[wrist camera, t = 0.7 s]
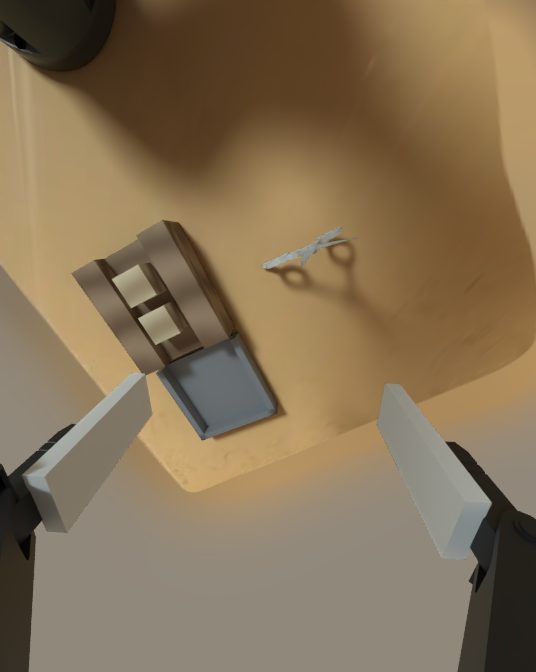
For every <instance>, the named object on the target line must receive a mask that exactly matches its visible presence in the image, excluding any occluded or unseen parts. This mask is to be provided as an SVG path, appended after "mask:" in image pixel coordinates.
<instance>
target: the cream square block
mask: <svg viewBox="0 0 536 672" xmlns="http://www.w3.org/2000/svg"><path fill="white" fill-rule="evenodd" d="M112 280H113V282H114V283H115V285H116V286H117V288H118V289H119V291H120V292H121V294H122V295H123V297H124V298H125V300H126V301H127V303H128V304H129V306H130V307H131V308H132V307H135V306H137V305H139V304H141V303H143V302H145V301H147V300H149V299H151V298H153V297H155V296H157V295H159V294H161V293H163V292H165V291H167V289H166V288H165V286H164V285H163V283H162V281H161V280H160V278H159V276H158V275H157V273H156V271H155V270H154V268H153V266H152V265H151V263H144V264H138V265H136V266H135V267H133V268H131V269H129V270H127V271H126V272H124V273H122V274H120V275H118V276H117V277H115V278H113V279H112Z"/></svg>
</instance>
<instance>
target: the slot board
mask: <svg viewBox="0 0 536 672" xmlns="http://www.w3.org/2000/svg"><path fill="white" fill-rule="evenodd" d="M136 236H137V238H138V240H136V241H134V242H133V243H131V244H129V245H128V246H126V247H124V248H122V249H121V250H119V251H117V252H116V253H114V254H112V255H110V256H109V257H107V258H105V259H100V260H93V261H92V262H90V263H88V264H87V265H85V266H83V267H82V268H80V269H78V270H76V271H75V272H73V273H71V274H72V275H73V277H74V278H75V279H76V281H77V282H78V284H79V285H80V286H81V288H82V289H83V291H84V292H85V293H86V295H87V296H88V298H89V299H90V301H91V302H92V303H93V305H94V306H95V308H96V309H97V310H98V312H99V313H100V315H101V316H102V317H103V319H104V320H105V322H106V323H107V325H108V326H109V327H110V329H111V330H112V332H113V333H114V334H115V336H116V337H117V339H118V340H119V342H120V343H121V344H122V346H123V347H124V349H125V350H126V351H127V353H128V354H129V356H130V357H131V358H132V360H133V361H134V363H135V364H136V366H137V367H138V368H139V370H140V371H141V373H143V374H145V375H148V374H150V373H152V372H154V371H157V370H159V369H161V368H163V367H165V366H166V365H167V364H168V363H169V362H170V361H171V360H173V359H175V358H177V357H180V356H182V355H184V354H186V353H189V352H191V351H193V350H195V349H197V348H200V347H202V346H203V347H204V349H206V348H208V347H210V346H212V345H215V344H217V343H219V342H221V341H223V340H226V339H228V338H229V337H230V335H231V333H232V331H233V329H234V328H235V325H234V323H233V321H232V320H231V318H230V316H229V314H228V312H227V310H226V309H225V307H224V305H223V303H222V301H221V299H220V298H219V296H218V294H217V292H216V290H215V289H214V287H213V285H212V283H211V281H210V279H209V278H208V276H207V274H206V272H205V270H204V268H203V267H202V265H201V263H200V261H199V259H198V257H197V256H196V254H195V252H194V250H193V248H192V246H191V245H190V243H189V241H188V239H187V237H186V235H185V234H184V232H183V230H182V228H181V226H180V224H179V223H178V222H171V221H164V220H162V221H160V222H158V223H156V224H155V225H153V226H151V227H150V228H148V229H146V230H145V231H143V232H141V233H139V234H138V235H136ZM144 263H151V265H152V266H153V268H154V270H155V271H156V273H157V275H158V276H159V278H160V280H161V281H162V283H163V285H164V286H165V288H166V289H167V291H165V292H163V293H161V294H159V295H157V296H155V297H153V298H151V299H149V300H147V301H145V302H143V303H141V304H139V305H137V306H135V307H132V308H131V307H130V306H129V304H128V303H127V301H126V300H125V298H124V297H123V295H122V294H121V292H120V291H119V289H118V288H117V286H116V285H115V283H114V282H113V280H112V279H113V278H115V277H117V276H118V275H120V274H122V273H124V272H126V271H127V270H129V269H131V268H133V267H135V266H136V265H138V264H144ZM171 301H174V303H175V304H176V306H177V308H178V309H179V311H180V313H181V314H182V316H183V318H184V319H185V321H186V323H187V324H188V327H187V328H185V329H184V330H183V331H182V332H181V333H179V334H177V335H175V336H173V337H171V338H169V339H167V340H165V341H163V342H160V343H158V344H156V345H155V343H154V342H153V340H152V339H151V337H150V336H149V334H148V333H147V331H146V330H145V328H144V327H143V325H142V324H141V322H140V321H139V319H138V318H140V317H142V316H143V315H145V314H147V313H149V312H151V311H153V310H155V309H157V308H159V307H161V306H163V305H165V304H167V303H169V302H171Z"/></svg>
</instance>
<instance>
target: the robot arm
mask: <svg viewBox="0 0 536 672" xmlns="http://www.w3.org/2000/svg"><path fill="white" fill-rule="evenodd" d="M114 9H115V0H0V40H1V41H2V42H3V43H5V44H6V45H7V46H8V47H10V48H11V49H13V50H14V51H16V52H17V53H18V54H20V55H21V56H23V57H24V58H26V59H27V60H29V61H30V62H32V63H34V64H36V65H38V66H40V67H43V68H46V69H49V70H55V71H68V70H73V69H76V68H79V67H81V66H83V65H85V64H86V63H88V62H89V61H90V60H91V59H93V58H94V57H95V55H96V54H97V53H98V52H99V51H100V49H101V48H102V46H103V44H104V43H105V41H106V39H107V36H108V34H109V31H110V28H111V25H112V20H113V16H114ZM151 416H152V409H151V404H150V398H149V392H148V387H147V381H146V376H145V374H143V373H131V374H130V375H129V376H128V377H127V378H126V379H125V380H124V381H123V382H122V383H120V384H119V385H118V386H117V387H116V388H115V389H114V390H113V391H112V392H111V393H110V394H109V395H108V396H106V397H105V398H104V399H103V400H102V401H101V402H100V403H99V404H98V405H97V406H96V407H95V408H94V409H93V410H91V411H90V412H89V413H88V414H87V415H86V416H85V417H84V418H83V419H82V420H81V421H80V422H79V423H77V424H71V425H69V426H68V427H66V428H64V429H62V430H61V431H59V432H58V433H57V434H55V435H54V436H53V437H52V438H51V439H50V440H49V441H48V443H45V444H44V445H43V446H42V447H41V448H40V449H39V451H36V452H35V453H34V454H33V455H32V456H30V457H29V458H28V459H27V460H26V461H25V462H24V463H23V464H21V465H20V466H19V467H18V468H17V469H16V470H15V471H14V472H13V473H12V474H10V475H9V476H7V474H6V472H5V470H4V468H3V466H2V464H0V672H28V671H29V654H30V653H29V652H30V635H31V617H32V598H33V580H34V561H35V543H36V536H35V533H34V529H35V528H36V527H37V526H38V524H39V523H40V522H41V521H42V522H43V524H44V526H45V528H46V531H49V532H63V533H67V532H68V531H69V530H70V528H71V527H72V526H73V524H74V523H75V521H76V520H77V519H78V517H79V516H80V514H81V513H82V512H83V510H84V509H85V507H86V506H87V505H88V503H89V502H90V500H91V499H92V498H93V496H94V495H95V493H96V492H97V490H98V489H99V488H100V487H101V485H102V484H103V482H104V481H105V479H106V478H107V477H108V475H109V474H110V473H111V471H112V470H113V468H114V467H115V466H116V464H117V463H118V461H119V460H120V459H121V457H122V456H123V454H124V453H125V452H126V450H127V449H128V448H129V446H130V445H131V443H132V442H133V440H134V439H135V438H136V436H137V435H138V434H139V432H140V431H141V429H142V428H143V427H144V425H145V424H146V422H147V421H148V420H149V418H150V417H151ZM377 426H378V428H379V430H380V432H381V434H382V436H383V439H384V441H385V443H386V445H387V447H388V449H389V451H390V453H391V455H392V457H393V459H394V461H395V463H396V465H397V467H398V469H399V471H400V473H401V476H402V478H403V480H404V482H405V484H406V486H407V488H408V490H409V492H410V494H411V496H412V498H413V500H414V502H415V504H416V506H417V508H418V510H419V513H420V515H421V516H422V519H423V521H424V523H425V525H426V527H427V529H428V531H429V533H430V535H431V537H432V539H433V541H434V543H435V545H436V547H437V549H438V552H439V554H440V555H441V558H444V559H460V560H465V559H466V557H467V555H468V553H469V551H470V549H471V550H472V551H473V553H474V555H475V556H476V558H477V560H478V564H477V566H476V568H475V570H474V572H473V574H472V576H471V578H470V580H469V582H470V583H472V584H473V586H472V592H471V598H470V603H469V609H468V615H467V621H466V626H465V632H464V638H463V644H462V650H461V656H460V661H459V667H458V672H536V519H535V518H533V517H531V516H530V515H527V514H525V513H522V512H520V511H517V510H516V509H515V507H514V506H513V505H512V504H511V503H510V501H509V500H508V499H507V498H506V497H505V495H504V494H503V493H502V492H501V491H500V490H499V488H498V487H497V486H496V485H495V484H494V482H493V481H492V480H491V479H490V478H489V476H488V475H486V474H485V472H484V471H483V469H482V468H481V467H480V466H479V465H477V462H476V461H475V460H474V459H473V457H472V456H471V455H470V454H469V453H468V452H467V451H466V450H465V449H463V448H462V447H461V446H459V445H458V444H456V443H455V442H445V441H444V440H443V439H442V438H441V436H439V434H438V432H437V431H436V430H435V429H434V427H433V426H432V425H431V423H430V422H429V421H428V419H427V418H426V417H425V416H424V414H423V413H422V412H421V411H420V409H419V408H418V407H417V406H416V404H415V403H414V401H413V400H412V399H411V397H410V396H409V395H408V394H407V392H406V391H405V390H404V388H403V387H402V386H401V385H400V384H392V383H385V387H384V392H383V397H382V402H381V407H380V411H379V416H378V421H377Z"/></svg>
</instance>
